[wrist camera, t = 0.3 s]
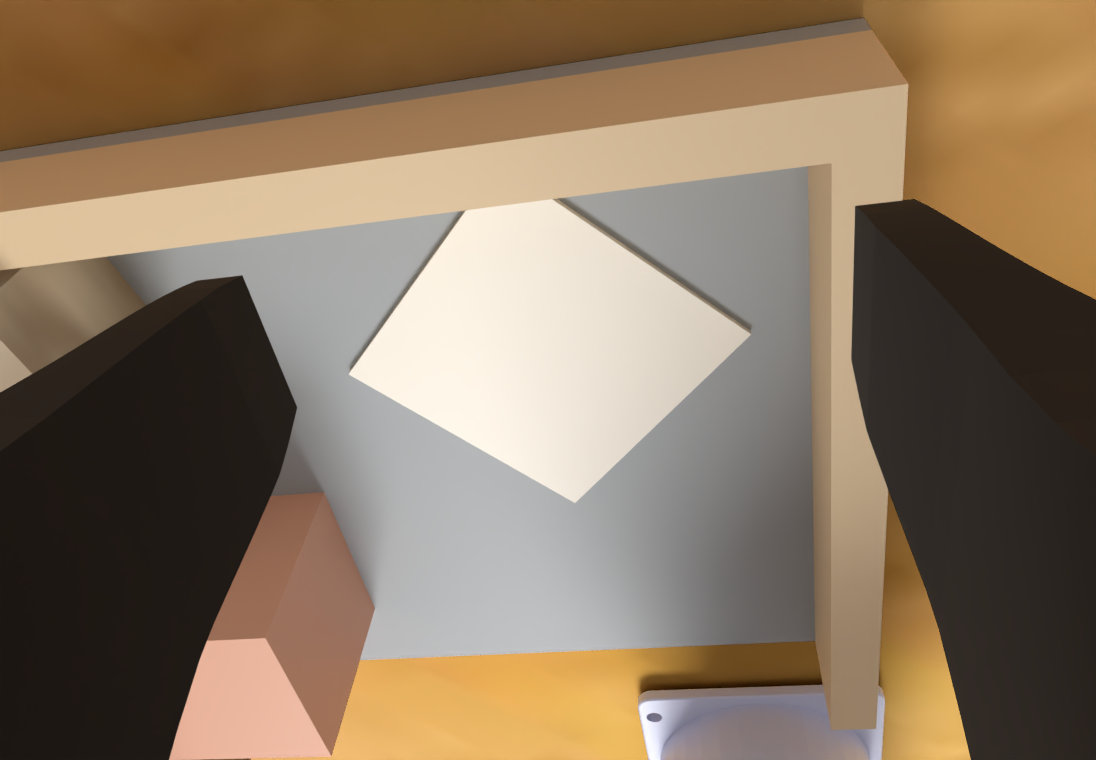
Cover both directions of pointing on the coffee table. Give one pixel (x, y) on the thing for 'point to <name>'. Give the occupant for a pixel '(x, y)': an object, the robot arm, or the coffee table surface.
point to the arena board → (630, 217)
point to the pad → (545, 343)
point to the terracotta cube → (280, 643)
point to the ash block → (57, 312)
